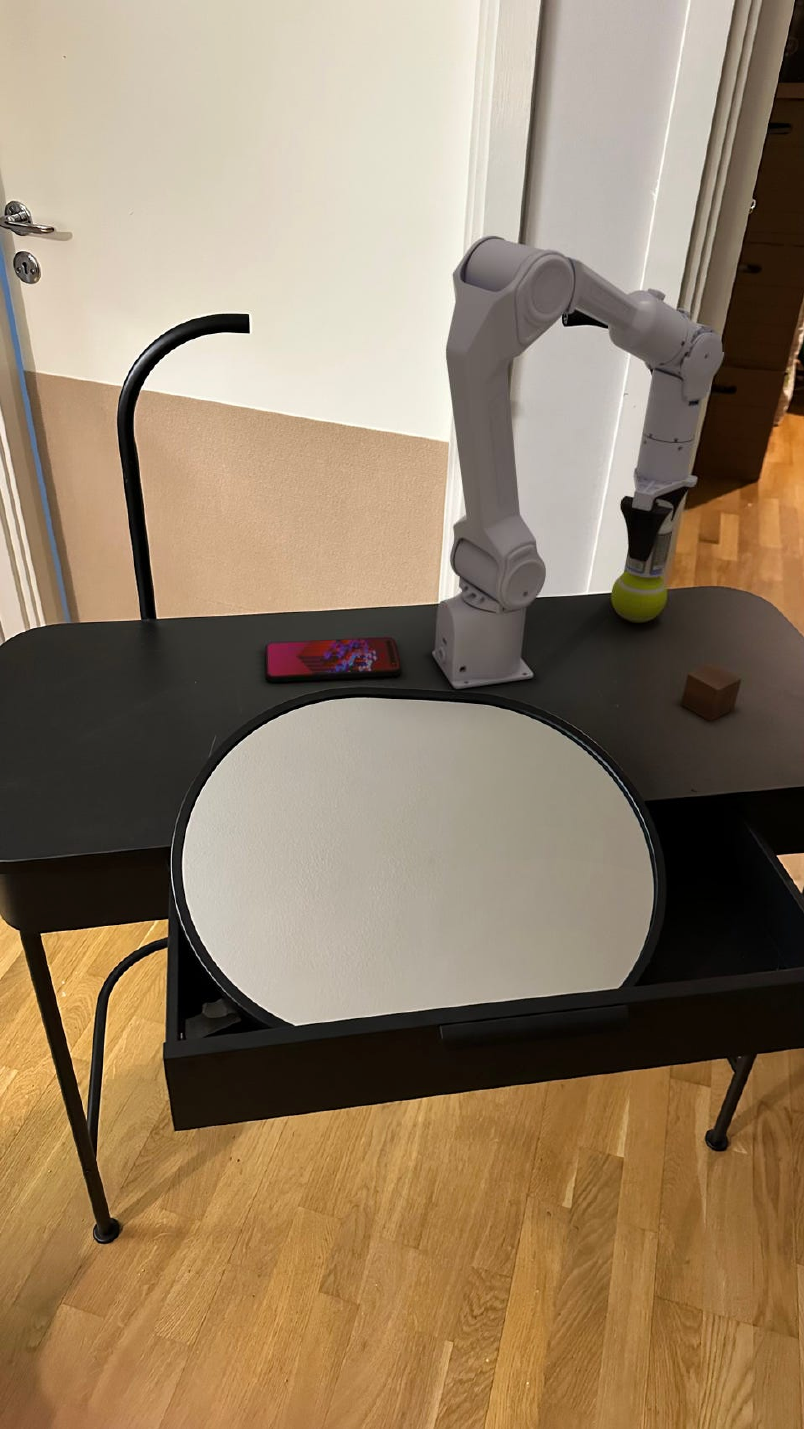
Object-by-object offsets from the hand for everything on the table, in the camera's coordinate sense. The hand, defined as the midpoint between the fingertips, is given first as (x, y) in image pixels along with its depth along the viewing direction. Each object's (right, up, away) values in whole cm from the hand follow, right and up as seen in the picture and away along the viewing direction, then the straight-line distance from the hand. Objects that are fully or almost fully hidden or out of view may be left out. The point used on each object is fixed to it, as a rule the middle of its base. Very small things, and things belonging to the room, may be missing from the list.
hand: (647, 547), depth 117 cm
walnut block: (+4, -19, -11) cm, 22 cm away
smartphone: (-37, -14, -5) cm, 40 cm away
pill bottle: (0, -3, +2) cm, 3 cm away
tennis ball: (0, -8, +6) cm, 10 cm away
